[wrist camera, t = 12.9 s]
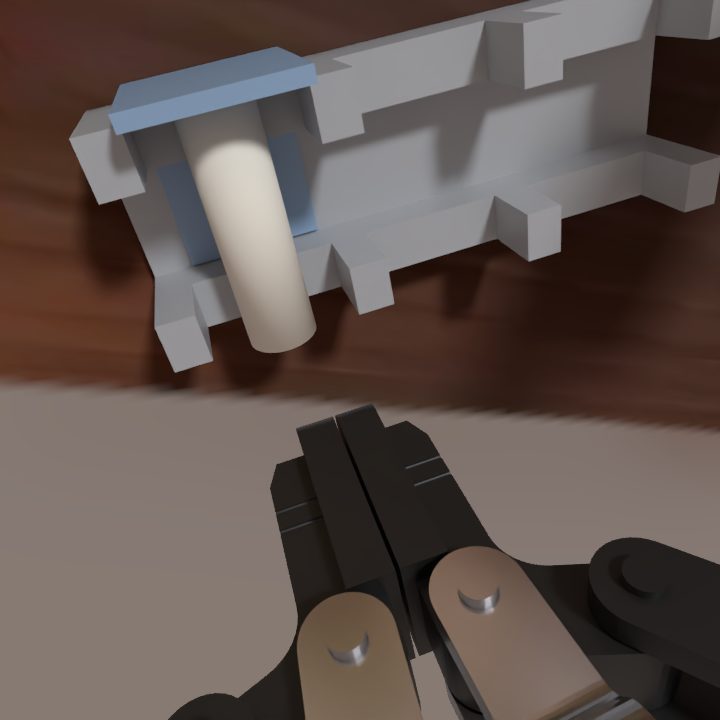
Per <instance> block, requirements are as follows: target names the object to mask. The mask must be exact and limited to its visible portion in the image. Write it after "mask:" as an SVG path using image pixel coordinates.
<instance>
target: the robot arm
mask: <svg viewBox="0 0 720 720" xmlns="http://www.w3.org/2000/svg"><path fill="white" fill-rule="evenodd" d="M335 418H336V422H337V426H338V428H337V426H336V423H335V421H334V419H333V417H330V418H327V419H324V420H321V421H318V422H315V423H312V424H309V425H305V426H303V427H300V428H296V430H297V434H298V437H299V440H300V443H301V446H302V450H303V453H304V455H303V456H301V457H298V458H295V459H292V460H289V461H286V462H283V463H280V464H277V465H276V469H275V472H274V476H273V480H272V483H271V487H270V490H271V494H272V499H273V503H274V507H275V512H276V515H277V516H276V517H277V521H278V525H279V530H280V533H281V539H282V543H283V548H284V553H285V557H286V561H287V566H288V570H289V575H290V579H291V584H292V588H293V593H294V597H295V602H296V606H297V613H298V625H297V630H296V634H295V637H294V640H293V643H292V645H291V647H290V649H289V651H288V652H287V654H286V656H285V657H284V658H283V660H282V661H281V662H280V663H279V664H278V665H277V667H276V668H275V669H274V670H273V671H271V672H270V673H269V674H268V675H267V676H265V677H264V678H263V679H262V680H261V681H259V682H258V683H257V684H255V685H254V686H253V687H251V688H250V689H249V690H248V691H246V692H245V693H244V694H243V695H242V696H240V697H239V698H236V697H234V696H232V695H227V694H221V693H220V694H219V693H214V694H208V695H204V696H201V697H198V698H196V699H194V700H192V701H190V702H188V703H187V704H185V705H184V706H182V707H181V708H180V709H178V710H177V711H176V712H175V713H174V714H173V715H172V716H171V717H170V718H169V719H168V720H423V717H422V714H421V706H420V700H419V696H418V692H417V687H416V683H415V679H414V675H413V671H412V667H411V663H410V660H411V659H414V658H415V653H414V649H413V644H412V640H411V636H410V632H411V635H412V638H413V641H414V643H415V646H416V648H417V651H418V653H419V656H420V655H423V654H426V653H428V652H431V651H433V652H434V654H435V656H436V659H437V661H438V664H439V666H440V668H441V671H442V673H443V676H444V678H445V683H446V688H447V692H448V697H449V700H450V702H451V704H452V706H453V708H454V710H455V712H456V714H457V716H458V718H459V720H720V565H719V564H716V563H714V562H711V561H708V560H705V559H703V558H700V557H697V556H694V555H692V554H689V553H686V552H683V551H681V550H678V549H675V548H672V547H669V546H667V545H664V544H661V543H658V542H655V541H652V540H649V539H643V538H621V539H617V540H613V541H611V542H608V543H606V544H605V545H603V546H602V547H601V548H599V549H598V550H597V551H596V553H595V554H594V556H593V558H592V559H591V562H590V564H575V565H574V564H573V565H553V566H544V565H535V564H530V563H526V562H522V561H520V560H517V559H515V558H513V557H511V556H509V555H508V554H506V553H505V552H503V551H502V550H501V549H499V548H498V547H497V546H496V545H495V544H494V543H493V541H492V540H491V539H490V537H489V536H488V534H487V532H486V531H485V529H484V527H483V526H482V524H481V522H480V521H479V519H478V517H477V516H476V514H475V512H474V511H473V509H472V508H471V506H470V504H469V503H468V501H467V499H466V497H465V496H464V494H463V492H462V491H461V489H460V488H459V486H458V484H457V483H456V481H455V479H454V478H453V476H452V475H451V474H450V472H449V469H448V468H447V466H446V464H445V463H444V461H443V459H442V458H441V457H440V455H439V453H438V451H437V449H436V448H435V446H434V444H433V443H432V441H431V439H430V438H429V436H428V435H427V434H426V433H425V432H423V431H422V430H420V429H419V428H417V427H416V426H414V425H412V424H411V423H410V422H408V421H404V422H401V423H399V424H396V425H393V426H389V427H386V428H385V427H384V425H383V423H382V421H381V419H380V417H379V415H378V413H377V411H376V409H375V408H374V406H373V405H372V404H369V405H366V406H363V407H360V408H357V409H354V410H351V411H348V412H345V413H342V414H338V415H336V416H335ZM338 430H339V431H338Z"/></svg>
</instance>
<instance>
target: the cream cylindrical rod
mask: <svg viewBox="0 0 720 720" xmlns="http://www.w3.org/2000/svg"><path fill="white" fill-rule="evenodd" d="M174 124H175V127H176V130H177V132H178V135H179V138H180V141H181V144H182V147H183V150H184V153H185V155H186V158H187V161H188V164H189V167H190V170H191V173H192V176H193V178H194V181H195V184H196V187H197V190H198V193H199V196H200V198H201V201H202V204H203V207H204V210H205V213H206V216H207V219H208V221H209V224H210V227H211V230H212V233H213V236H214V239H215V242H216V244H217V247H218V250H219V253H220V256H221V259H222V262H223V265H224V267H225V270H226V273H227V276H228V279H229V282H230V285H231V288H232V290H233V293H234V296H235V299H236V302H237V305H238V308H239V311H240V313H241V316H242V319H243V322H244V325H245V328H246V331H247V334H248V336H249V339H250V342H251V345H252V347H253V348H254V349H256V350H258V351H261V352H265V353H278V352H284V351H288V350H291V349H294V348H296V347H298V346H300V345H302V344H304V343H305V342H307V341H308V340H309V339H310V338H311V337H312V336H313V335H314V333H315V331H316V323H315V319H314V315H313V312H312V308H311V304H310V300H309V297H308V293H307V289H306V285H305V282H304V278H303V274H302V270H301V267H300V263H299V259H298V255H297V252H296V248H295V244H294V240H293V237H292V233H291V229H290V225H289V222H288V218H287V214H286V210H285V207H284V203H283V199H282V195H281V191H280V188H279V184H278V180H277V176H276V173H275V169H274V165H273V161H272V158H271V154H270V150H269V146H268V143H267V139H266V135H265V131H264V128H263V124H262V120H261V116H260V113H259V109H258V105H257V101H256V100H253V101H249V102H245V103H241V104H237V105H233V106H229V107H225V108H221V109H217V110H213V111H210V112H206V113H202V114H198V115H194V116H190V117H186V118H182V119H178V120H174Z"/></svg>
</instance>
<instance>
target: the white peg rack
mask: <svg viewBox="0 0 720 720" xmlns="http://www.w3.org/2000/svg"><path fill="white" fill-rule="evenodd" d="M655 36H668V37H680V38H692V39H704V40H710V39H713V38H717V37H720V0H530V1H526V2H522V3H518V4H514V5H510V6H506V7H502V8H498V9H494V10H490V11H486V12H482V13H478V14H474V15H470V16H466V17H462V18H458V19H454V20H450V21H446V22H442V23H438V24H434V25H430V26H426V27H422V28H418V29H414V30H409V31H405V32H401V33H397V34H393V35H389V36H385V37H381V38H377V39H373V40H369V41H365V42H361V43H357V44H353V45H349V46H345V47H341V48H337V49H333V50H329V51H325V52H321V53H317V54H313V55H309V56H305V57H300V56H297V55H295V54H293V53H290V52H288V51H286V50H284V49H281V48H279V47H273V48H268V49H264V50H260V51H256V52H252V53H248V54H244V55H240V56H236V57H232V58H228V59H223V60H219V61H215V62H211V63H207V64H203V65H199V66H195V67H191V68H187V69H183V70H178V71H174V72H170V73H166V74H162V75H158V76H154V77H150V78H146V79H142V80H138V81H133V82H129V83H125V84H121V85H120V87H119V89H118V91H117V94H116V96H115V99H114V101H113V104H112V105H108V106H104V107H100V108H96V109H91V110H87V111H86V112H85V113H84V115H83V117H82V118H81V120H80V122H79V123H78V125H77V127H76V128H75V130H74V132H73V133H72V135H71V137H70V138H69V140H70V142H71V144H72V146H73V149H74V151H75V153H76V155H77V157H78V160H79V162H80V164H81V166H82V168H83V171H84V173H85V175H86V177H87V180H88V182H89V184H90V186H91V188H92V191H93V193H94V195H95V197H96V199H97V202H98V204H99V205H100V204H103V203H107V202H111V201H114V200H118V199H122V201H123V203H124V206H125V208H126V210H127V213H128V215H129V217H130V220H131V222H132V224H133V227H134V229H135V231H136V234H137V236H138V238H139V241H140V243H141V245H142V248H143V250H144V253H145V255H146V257H147V260H148V262H149V264H150V267H151V269H152V271H153V274H154V276H155V330H156V332H157V334H158V336H159V339H160V341H161V343H162V345H163V347H164V350H165V352H166V354H167V356H168V358H169V361H170V363H171V365H172V367H173V369H174V372H175V373H176V372H179V371H182V370H185V369H188V368H191V367H195V366H198V365H201V364H204V363H207V362H211V361H213V357H212V350H211V343H210V337H209V330H208V327H210V326H213V325H217V324H220V323H223V322H226V321H230V320H233V319H236V318H239V317H242V316H241V313H240V311H239V308H238V305H237V302H236V299H235V296H234V293H233V290H232V288H231V285H230V282H229V279H228V276H227V273H226V270H225V267H224V265H223V262H222V259H221V256H220V253H219V250H218V247H217V244H216V242H215V239H214V236H213V233H212V230H211V227H210V224H209V221H208V219H207V216H206V213H205V210H204V207H203V204H202V201H201V198H200V196H199V193H198V190H197V187H196V184H195V181H194V178H193V176H192V173H191V170H190V167H189V164H188V161H187V158H186V155H185V153H184V150H183V147H182V144H181V141H180V138H179V135H178V132H177V130H176V127H175V124H174V120H178V119H182V118H186V117H190V116H194V115H198V114H202V113H206V112H210V111H213V110H217V109H221V108H225V107H229V106H233V105H237V104H241V103H245V102H249V101H253V100H256V101H257V105H258V109H259V113H260V116H261V120H262V124H263V128H264V131H265V135H266V139H267V143H268V146H269V150H270V154H271V158H272V161H273V165H274V169H275V173H276V176H277V180H278V184H279V188H280V191H281V195H282V199H283V203H284V207H285V210H286V214H287V218H288V222H289V225H290V229H291V233H292V237H293V240H294V244H295V248H296V252H297V255H298V259H299V263H300V267H301V270H302V274H303V278H304V282H305V285H306V289H307V293H308V296H311V295H315V294H318V293H321V292H324V291H328V290H331V289H334V288H338V287H341V286H342V288H343V290H344V291H345V293H346V294H347V296H348V298H349V299H350V301H351V302H352V304H353V306H354V307H355V309H356V310H357V312H358V313H359V315H360V314H363V313H367V312H370V311H373V310H376V309H379V308H382V307H386V306H389V305H392V304H394V299H393V293H392V288H391V282H390V276H389V272H390V271H393V270H396V269H400V268H403V267H406V266H409V265H413V264H416V263H419V262H423V261H426V260H429V259H432V258H436V257H439V256H442V255H445V254H449V253H452V252H455V251H458V250H462V249H465V248H468V247H472V246H475V245H478V244H481V243H485V242H488V241H491V240H494V239H498V240H499V241H501V242H502V243H504V244H505V245H506V246H508V247H509V248H510V249H512V250H513V251H515V252H516V253H517V254H519V255H520V256H522V257H523V258H524V259H526V260H527V261H528V262H529V261H532V260H535V259H539V258H542V257H545V256H548V255H551V254H554V253H558V252H561V219H563V218H566V217H570V216H573V215H576V214H579V213H583V212H586V211H589V210H593V209H596V208H599V207H602V206H606V205H609V204H612V203H615V202H619V201H622V200H625V199H628V198H632V197H635V196H638V195H643V196H646V197H648V198H651V199H653V200H655V201H658V202H660V203H663V204H665V205H667V206H670V207H672V208H675V209H677V210H679V211H682V212H684V213H685V212H688V211H691V210H695V209H698V208H701V207H704V206H707V205H710V204H714V202H715V196H716V190H717V184H718V178H719V172H720V155H716V154H713V153H709V152H706V151H702V150H699V149H695V148H692V147H689V146H685V145H682V144H678V143H675V142H671V141H668V140H664V139H661V138H657V137H654V136H650V135H647V134H646V131H647V120H648V109H649V98H650V88H651V77H652V66H653V55H654V44H655Z"/></svg>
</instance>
